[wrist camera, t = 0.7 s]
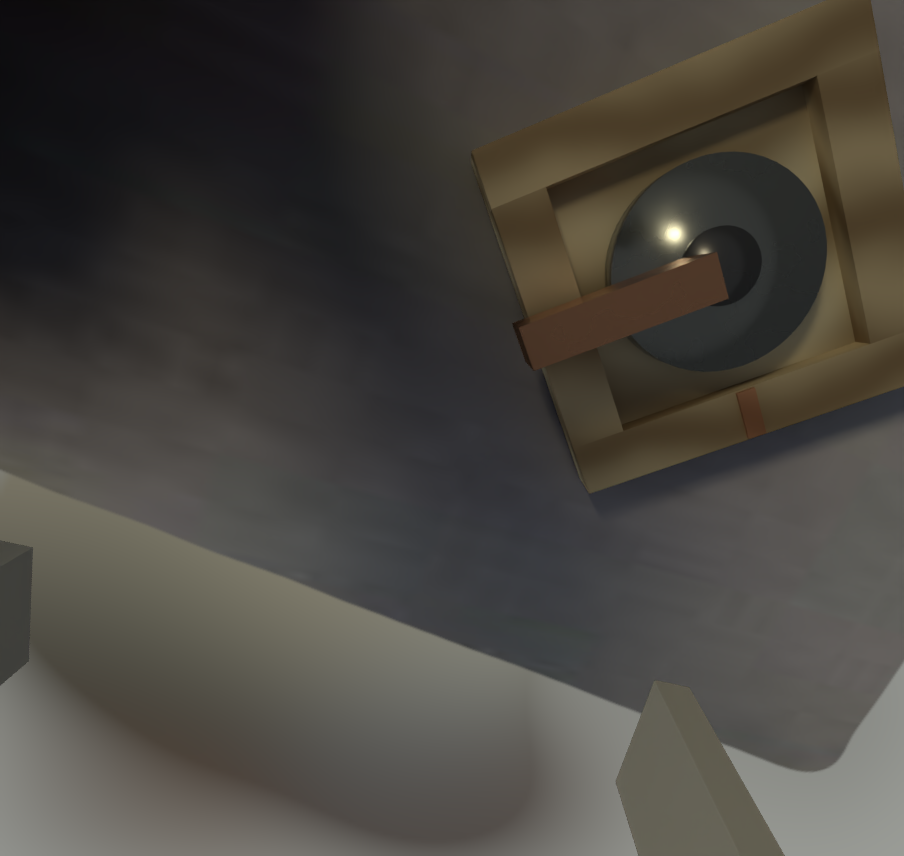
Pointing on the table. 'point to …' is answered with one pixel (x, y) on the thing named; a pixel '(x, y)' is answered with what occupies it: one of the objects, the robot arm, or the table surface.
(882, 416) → the table surface
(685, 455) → the panel
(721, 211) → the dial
